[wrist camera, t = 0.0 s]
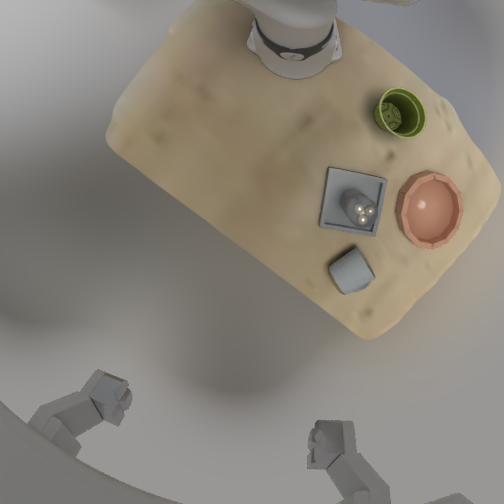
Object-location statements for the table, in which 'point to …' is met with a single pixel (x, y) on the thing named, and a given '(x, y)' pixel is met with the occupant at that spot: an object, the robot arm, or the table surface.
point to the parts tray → (334, 189)
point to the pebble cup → (359, 208)
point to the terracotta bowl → (429, 209)
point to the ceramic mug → (351, 272)
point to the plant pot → (401, 113)
